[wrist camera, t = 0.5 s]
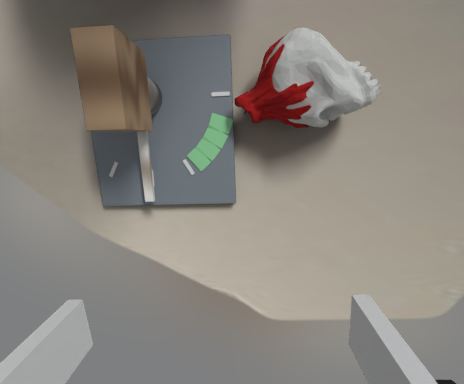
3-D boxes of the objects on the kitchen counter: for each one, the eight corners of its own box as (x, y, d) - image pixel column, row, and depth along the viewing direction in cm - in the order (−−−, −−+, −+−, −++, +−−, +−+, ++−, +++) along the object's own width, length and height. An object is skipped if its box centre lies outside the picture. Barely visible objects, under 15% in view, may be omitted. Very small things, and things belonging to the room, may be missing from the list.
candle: (364, 103, 32) (261, 152, 36) (333, 17, 30) (227, 79, 34) (398, 96, 23) (257, 162, 27) (358, -26, 21) (212, 65, 25)
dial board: (83, 47, 32) (76, 43, 31) (231, 38, 31) (230, 33, 30) (107, 203, 37) (102, 206, 36) (236, 201, 36) (236, 203, 35)
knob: (119, 62, 31) (63, 28, 22) (158, 60, 31) (119, 24, 21) (136, 198, 35) (96, 221, 26) (171, 198, 35) (143, 221, 25)
